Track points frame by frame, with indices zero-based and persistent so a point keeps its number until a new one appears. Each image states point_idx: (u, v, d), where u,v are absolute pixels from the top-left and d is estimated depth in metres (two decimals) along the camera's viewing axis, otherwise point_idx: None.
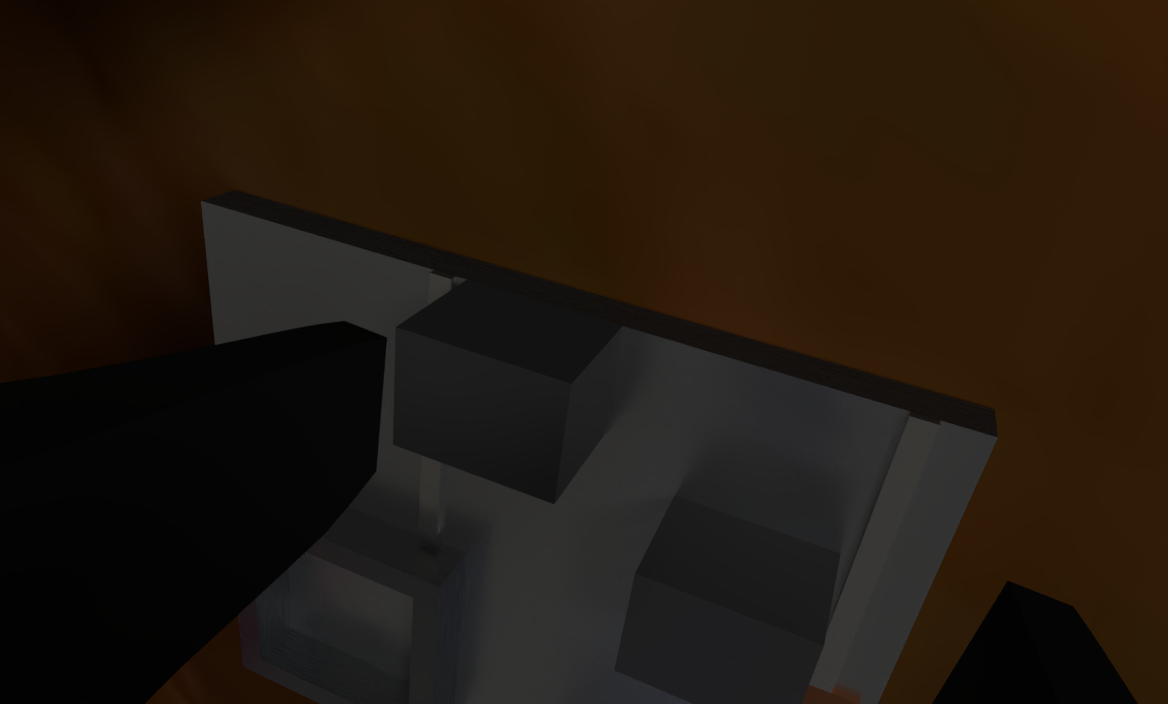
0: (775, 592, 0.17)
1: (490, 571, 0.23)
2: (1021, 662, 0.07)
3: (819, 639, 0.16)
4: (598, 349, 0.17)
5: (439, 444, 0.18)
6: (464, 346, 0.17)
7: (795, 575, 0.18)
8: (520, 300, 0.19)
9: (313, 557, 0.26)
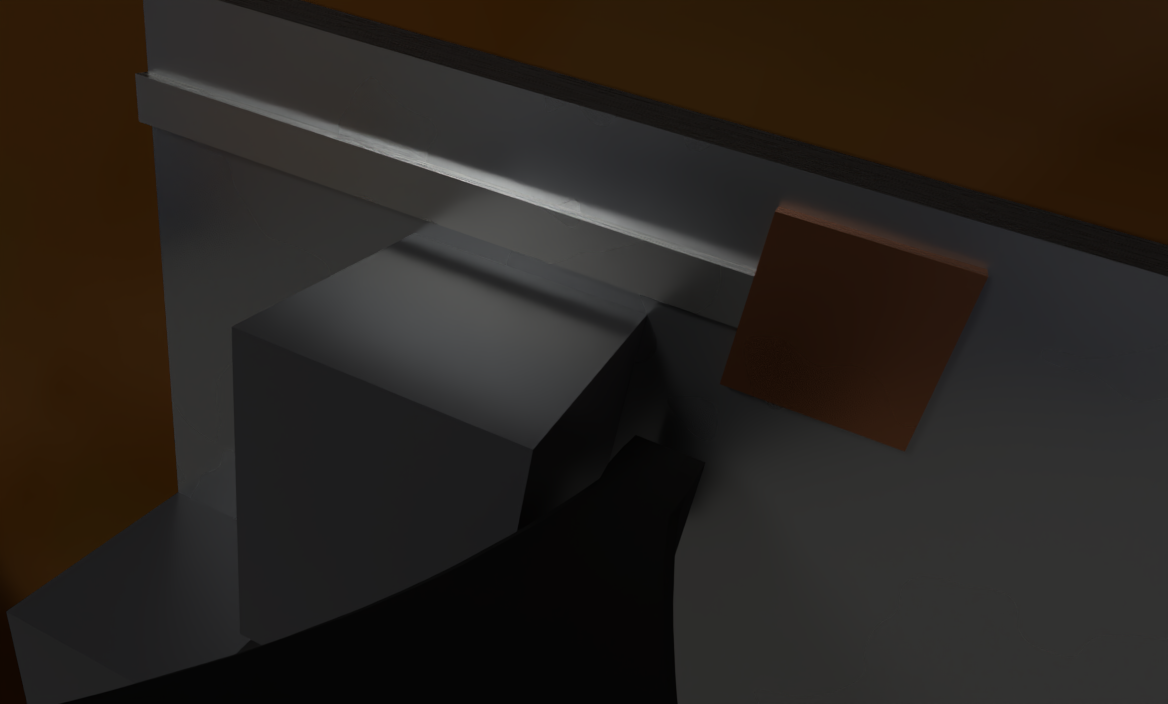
0: None
1: None
2: None
3: (240, 332, 0.07)
4: (109, 543, 0.13)
5: None
6: None
7: None
8: None
9: None
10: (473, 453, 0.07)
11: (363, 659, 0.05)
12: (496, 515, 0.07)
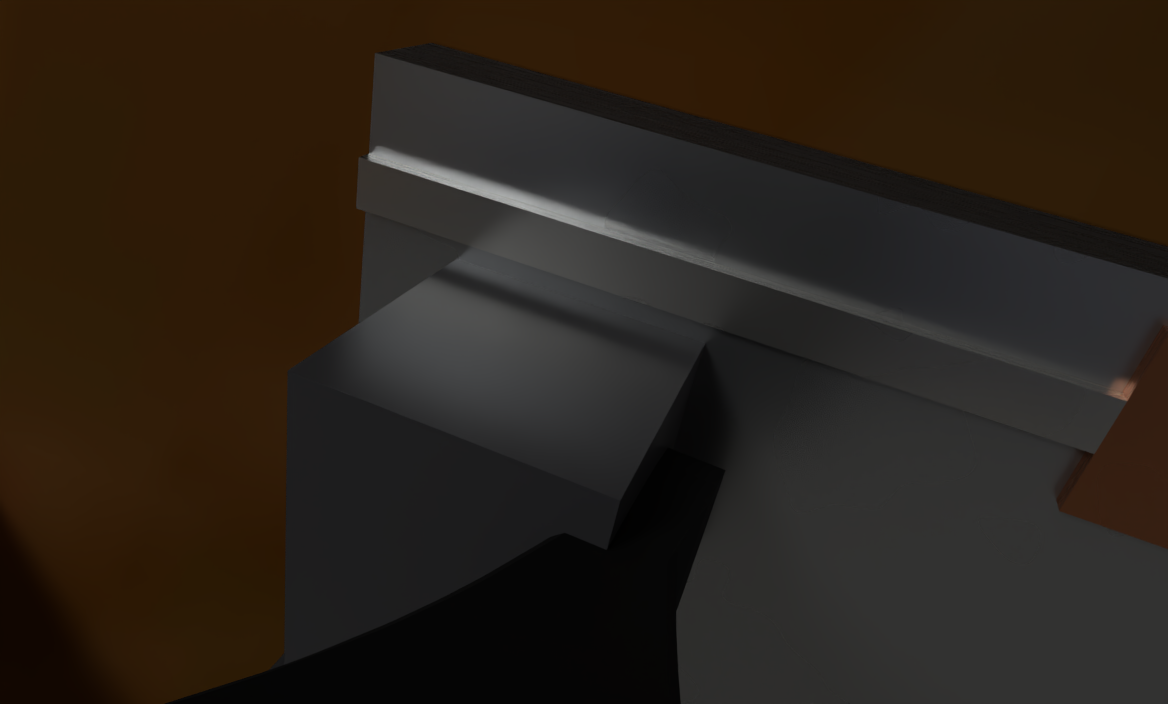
0: None
1: None
2: None
3: (296, 375, 0.07)
4: None
5: None
6: None
7: None
8: None
9: None
10: (554, 502, 0.06)
11: (395, 676, 0.05)
12: None
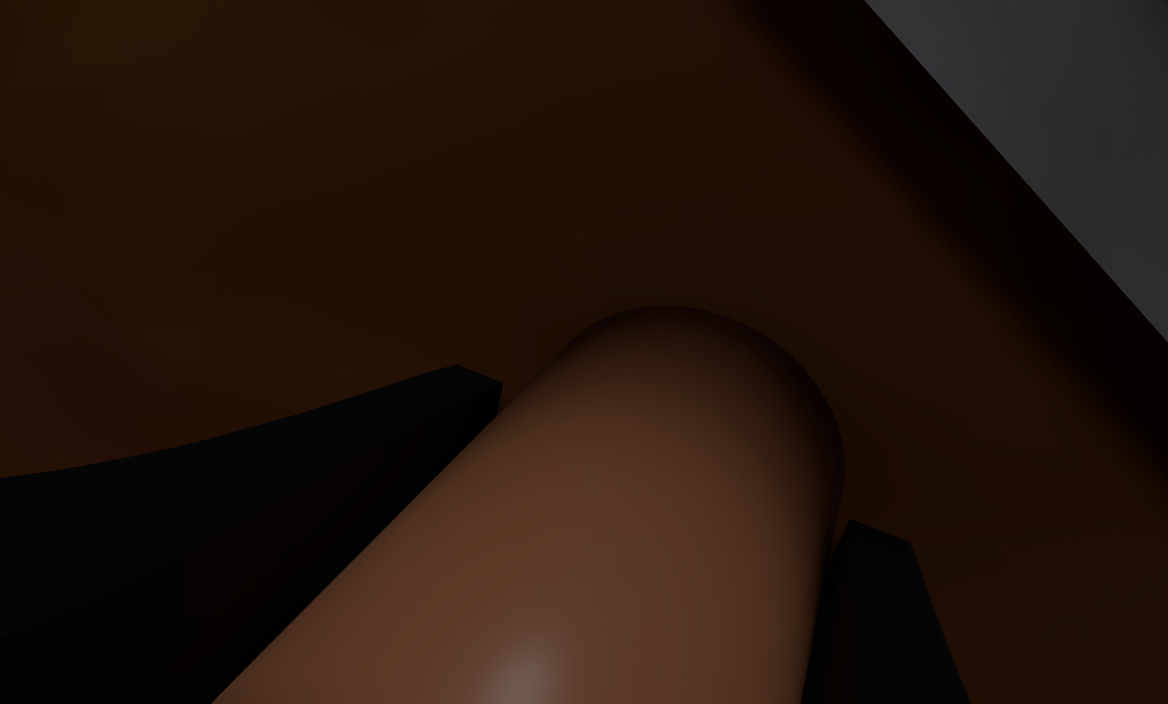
0: None
1: None
2: (841, 587, 0.07)
3: None
4: None
5: None
6: None
7: None
8: None
9: None
10: None
11: (50, 501, 0.05)
12: None
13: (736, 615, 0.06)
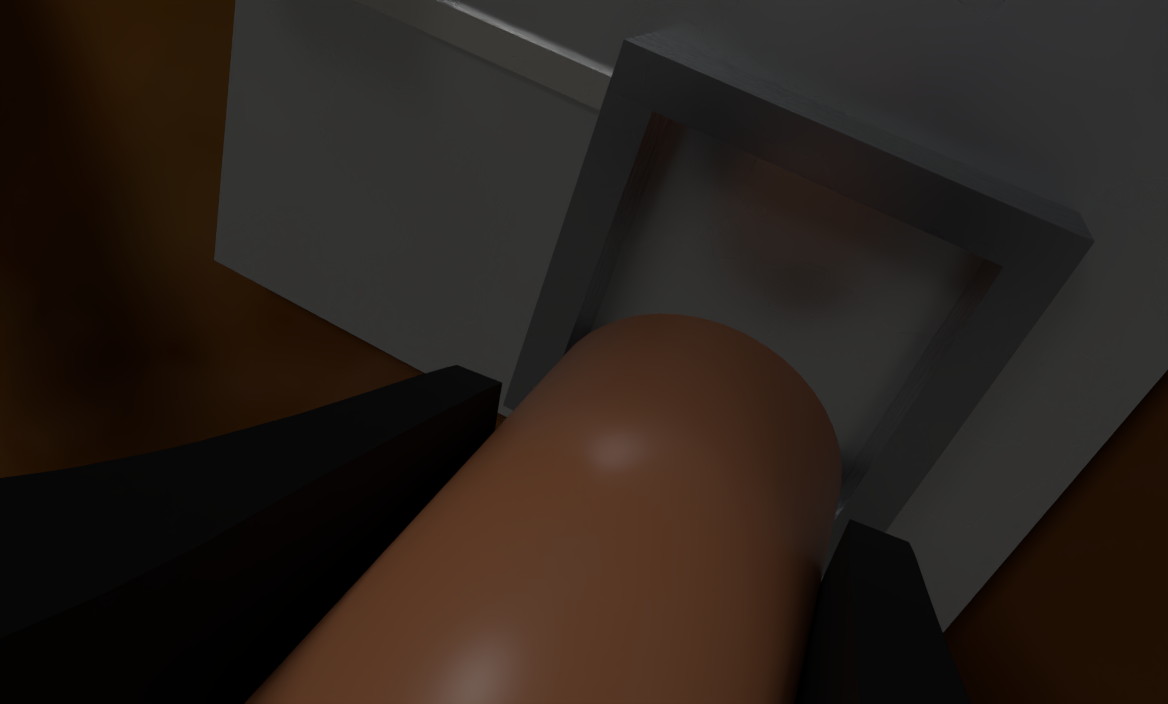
0: None
1: None
2: (841, 588, 0.07)
3: None
4: None
5: None
6: None
7: None
8: None
9: None
10: None
11: (49, 500, 0.05)
12: None
13: (728, 632, 0.06)
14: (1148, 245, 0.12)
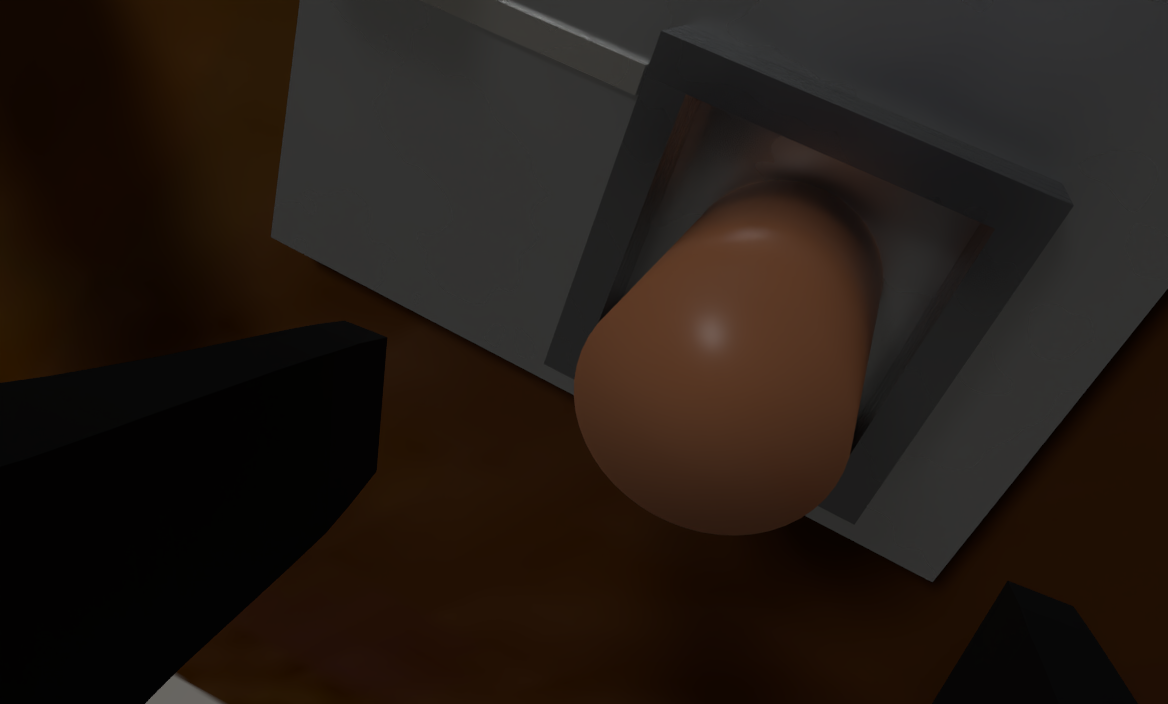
0: None
1: None
2: (1021, 662, 0.07)
3: None
4: None
5: None
6: None
7: None
8: None
9: None
10: None
11: None
12: None
13: (841, 293, 0.12)
14: (1122, 211, 0.14)
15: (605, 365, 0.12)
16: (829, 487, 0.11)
